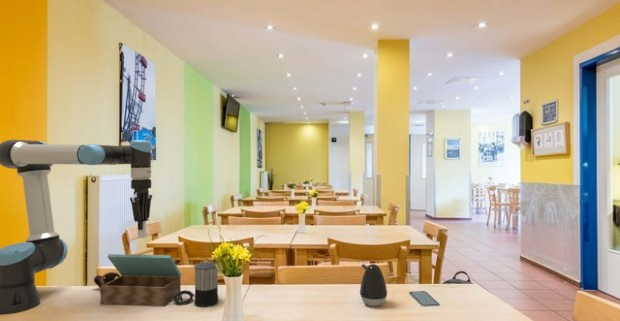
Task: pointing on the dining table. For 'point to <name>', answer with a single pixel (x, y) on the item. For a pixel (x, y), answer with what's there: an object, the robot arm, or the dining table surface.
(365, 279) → the pump dispenser
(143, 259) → the lid
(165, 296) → the storage box
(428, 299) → the smartphone
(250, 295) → the dining table surface
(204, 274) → the milk frother
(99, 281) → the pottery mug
